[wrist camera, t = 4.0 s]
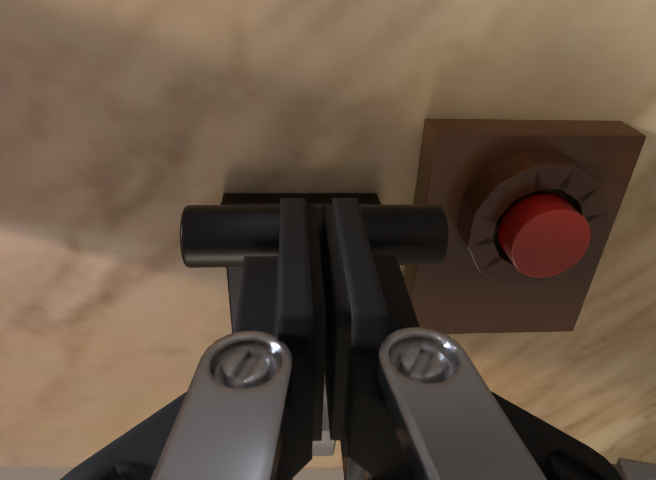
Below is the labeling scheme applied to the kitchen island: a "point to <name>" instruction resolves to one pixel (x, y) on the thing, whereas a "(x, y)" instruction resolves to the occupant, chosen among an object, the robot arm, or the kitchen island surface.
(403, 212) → the tap lever
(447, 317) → the button block
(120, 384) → the kitchen island surface
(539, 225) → the button
